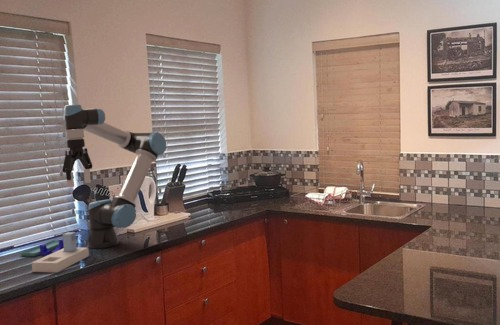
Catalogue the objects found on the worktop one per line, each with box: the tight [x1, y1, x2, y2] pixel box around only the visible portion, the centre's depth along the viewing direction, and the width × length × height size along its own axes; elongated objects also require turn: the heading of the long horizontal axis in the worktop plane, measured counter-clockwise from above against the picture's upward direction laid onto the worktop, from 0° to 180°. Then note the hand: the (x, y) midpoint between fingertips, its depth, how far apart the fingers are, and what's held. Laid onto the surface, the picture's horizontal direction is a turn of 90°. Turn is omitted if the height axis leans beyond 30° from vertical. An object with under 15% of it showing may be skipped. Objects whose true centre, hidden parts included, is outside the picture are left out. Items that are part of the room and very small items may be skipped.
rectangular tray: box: [19, 239, 60, 258], centre depth 249 cm, size 26×9×2 cm, turn 164°
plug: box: [62, 231, 77, 252], centre depth 224 cm, size 4×5×12 cm
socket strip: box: [31, 247, 90, 274], centre depth 218 cm, size 24×12×5 cm, turn 166°
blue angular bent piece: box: [39, 238, 64, 257], centre depth 238 cm, size 12×4×6 cm, turn 144°
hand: (79, 185), depth 224 cm, fingers open, 13 cm apart
